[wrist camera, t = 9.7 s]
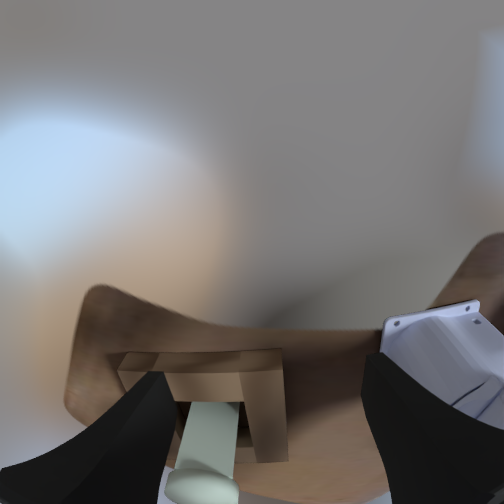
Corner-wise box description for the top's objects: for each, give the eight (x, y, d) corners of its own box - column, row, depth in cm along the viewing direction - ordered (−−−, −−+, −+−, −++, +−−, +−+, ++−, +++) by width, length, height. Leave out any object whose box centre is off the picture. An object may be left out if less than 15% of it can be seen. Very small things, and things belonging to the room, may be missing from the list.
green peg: (247, 396, 23) (240, 492, 14) (242, 431, 25) (234, 515, 16) (187, 387, 23) (160, 479, 14) (188, 423, 25) (167, 504, 16)
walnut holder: (281, 348, 21) (282, 369, 19) (287, 442, 25) (288, 461, 23) (127, 352, 22) (116, 370, 20) (168, 441, 26) (163, 458, 24)
